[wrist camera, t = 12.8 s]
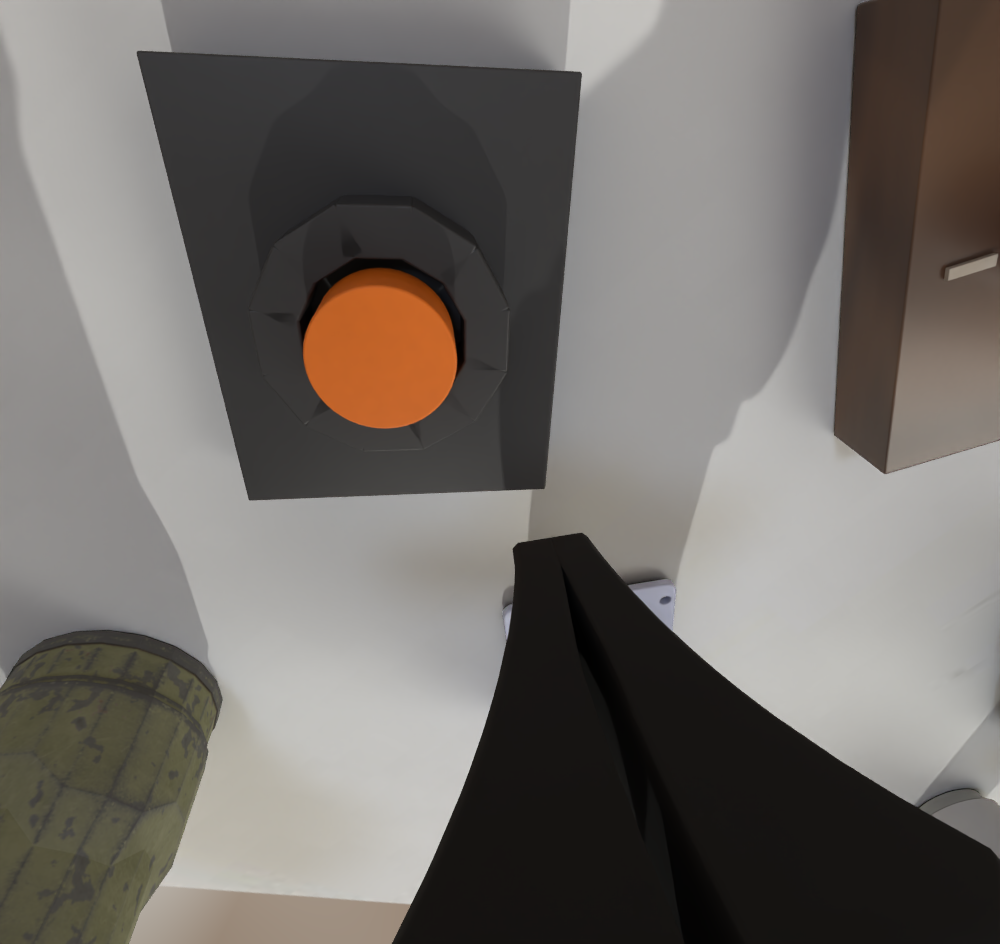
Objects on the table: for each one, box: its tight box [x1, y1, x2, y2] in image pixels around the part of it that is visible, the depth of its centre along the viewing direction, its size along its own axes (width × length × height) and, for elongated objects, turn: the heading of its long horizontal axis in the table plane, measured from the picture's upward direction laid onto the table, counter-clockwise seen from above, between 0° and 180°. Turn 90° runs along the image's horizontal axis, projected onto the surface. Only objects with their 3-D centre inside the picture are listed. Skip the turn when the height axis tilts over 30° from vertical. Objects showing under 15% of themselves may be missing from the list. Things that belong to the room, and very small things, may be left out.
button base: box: [137, 51, 582, 500], centre depth 16 cm, size 12×10×4 cm
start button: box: [303, 268, 457, 428], centre depth 14 cm, size 4×4×2 cm
